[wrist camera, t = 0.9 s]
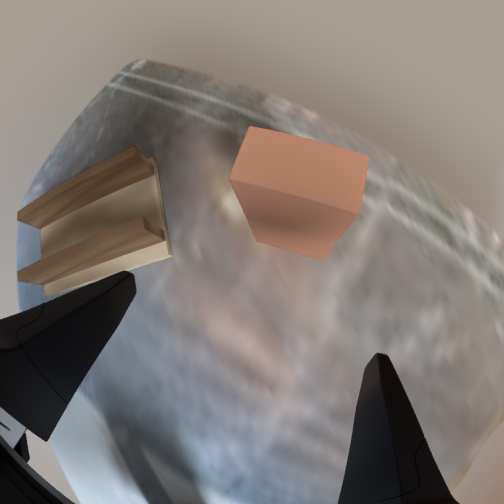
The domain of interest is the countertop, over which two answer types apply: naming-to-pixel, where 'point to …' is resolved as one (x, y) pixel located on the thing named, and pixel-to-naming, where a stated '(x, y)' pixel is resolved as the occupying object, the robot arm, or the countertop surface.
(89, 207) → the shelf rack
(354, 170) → the salmon orange rectangular block
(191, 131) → the countertop surface
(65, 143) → the countertop surface
